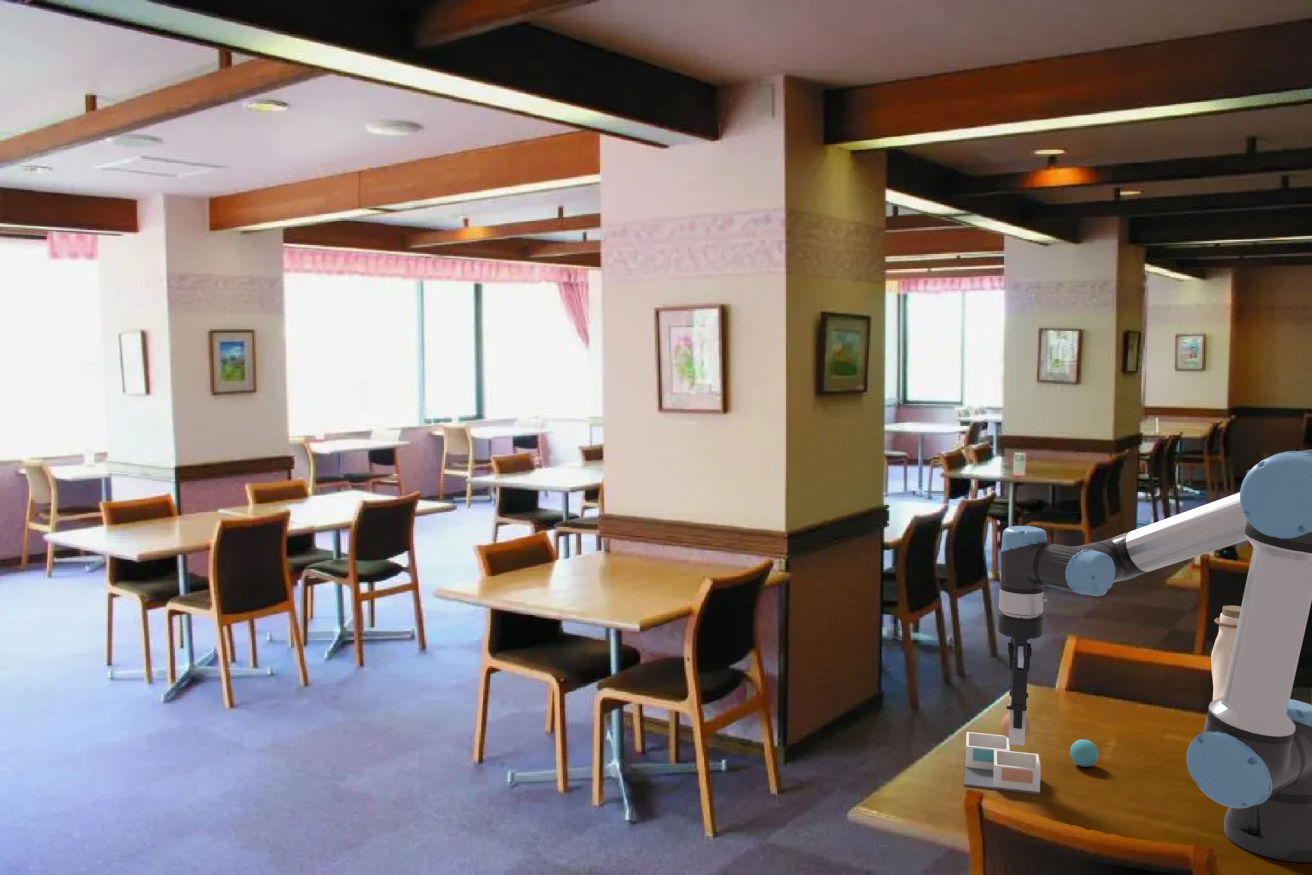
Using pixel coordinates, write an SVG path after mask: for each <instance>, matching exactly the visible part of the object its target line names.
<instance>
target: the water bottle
mask: <svg viewBox="0 0 1312 875" xmlns="http://www.w3.org/2000/svg"><path fill="white" fill-rule="evenodd" d="M1241 606H1242V605H1241ZM1241 606H1240V605H1239V606H1238V605H1223V606H1222V611H1221V613H1220V616H1219V617H1216V618H1215V619H1214V621H1213V622H1215V624H1217V625H1219V626H1218V632H1217V636H1216V638H1215V641H1214V644H1213V647H1212V650H1211V653H1210V654H1211V655H1210V661H1211V663H1210V664H1211V676H1212V686H1213V690H1212V691H1213V692H1212V701H1213V700H1215V699H1218V698H1220V697H1222V696H1223V692H1224V687H1225V682H1226V677H1227V672H1228V668H1229V663H1230V658H1231V653H1232V649H1233V644H1234V639H1235V634H1236V630H1237V625H1238V620H1239V615H1240V610H1241Z"/></svg>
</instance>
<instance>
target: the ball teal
mask: <svg viewBox="0 0 1312 875" xmlns="http://www.w3.org/2000/svg"><path fill="white" fill-rule="evenodd" d="M1069 753H1070V754H1069V755H1070V757H1071V760H1072V761H1073V762H1074V764H1076V765H1078V766H1080V767H1082V768H1089V767H1092V766H1094V765H1095V764H1096V763H1097V761H1098V760H1099V749H1098V747H1097V745H1096V744H1094V743H1093V742H1092V741H1091V740H1089V739H1082V738H1081V739H1078V740H1075V742H1073V743H1072V744H1071V746H1070V750H1069Z"/></svg>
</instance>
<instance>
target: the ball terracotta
mask: <svg viewBox="0 0 1312 875" xmlns="http://www.w3.org/2000/svg"><path fill="white" fill-rule="evenodd" d="M1009 719H1010V713H1009V712H1008V713H1007V714H1006V715H1004V716H1003V718H1002V720H1001V725H1000V727H1001V731H1002V733H1003V735H1004V736H1006V737H1007V738H1009ZM1030 731H1031V723H1030V721H1029V720H1028V718H1027V717H1026V723H1025V739H1026V738H1027V737H1028V735H1029V734H1030Z"/></svg>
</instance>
